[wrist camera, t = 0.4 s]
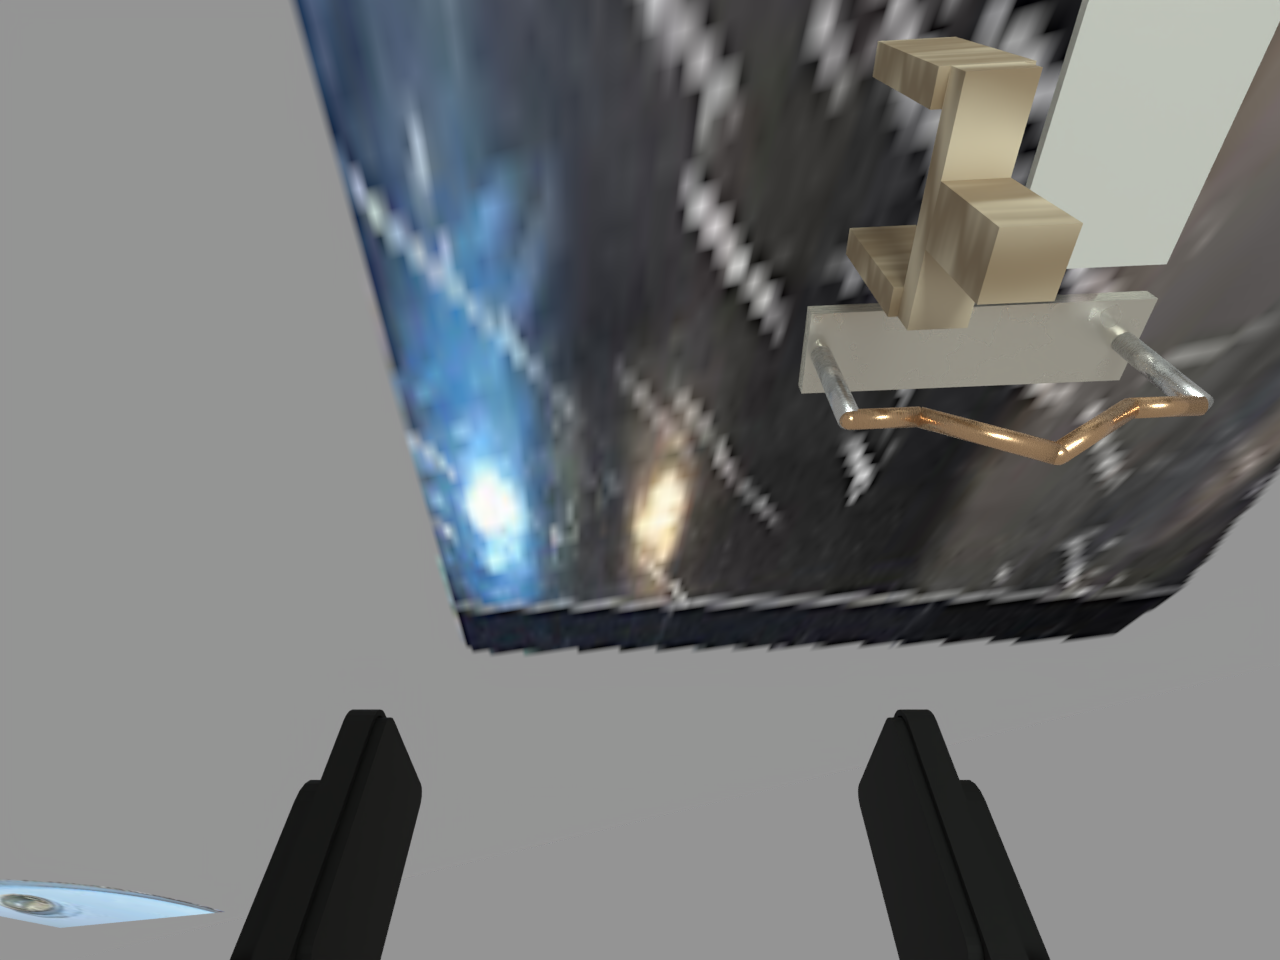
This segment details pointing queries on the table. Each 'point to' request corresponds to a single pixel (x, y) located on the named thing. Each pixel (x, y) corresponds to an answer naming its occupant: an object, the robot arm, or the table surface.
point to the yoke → (965, 193)
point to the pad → (1145, 118)
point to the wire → (994, 365)
